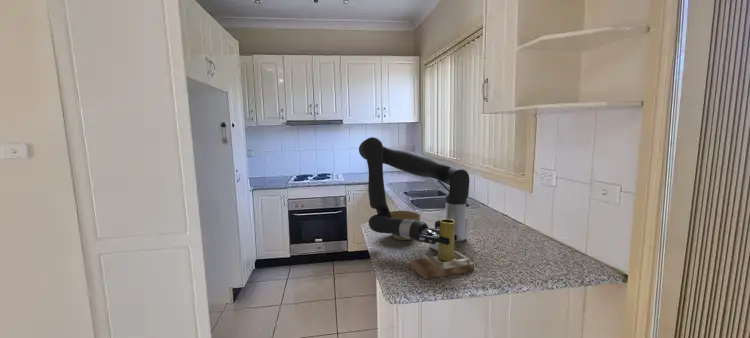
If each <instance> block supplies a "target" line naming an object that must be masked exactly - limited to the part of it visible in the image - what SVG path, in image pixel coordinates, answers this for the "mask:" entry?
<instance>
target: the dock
mask: <svg viewBox="0 0 750 338" xmlns="http://www.w3.org/2000/svg"><path fill="white" fill-rule="evenodd" d="M437 256H438V255H437ZM437 256H434V255H431V254H430V253H428V252H424V257H422V258H417V259H411V260H410V267H411V268H412V269H413V270H414V271H415V272H416V273H418V274H419V275H420V276H421V277H423V278H424V279H425V280H428V279H434V278H435V279H436V278H440V277H445V276H450V275H456V274H461V273H467V272H471V271H472V272H473V271H475V270H474V269H475V263H473V262H472V261H471V259H470V258H468V257H467V256H465V255H464V254H462V253H460V252H459V251H457V250H455V249H454V260H452V261H442V260H440V259H438V257H437Z"/></svg>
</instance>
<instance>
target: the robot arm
mask: <svg viewBox="0 0 750 338" xmlns="http://www.w3.org/2000/svg"><path fill="white" fill-rule="evenodd" d="M358 153H359V155H360V156H361V157H362V158H363V159H364V160H366V163H367V167H368V168H367V171H368V180H367V181H368V183H367V187H368V188H367V189H368V190H367V191H368V200H369V205H370V208H371V209H374V210H375V211H376V213H377V214H374V215H372V216H370V218H369V219H368V226H369V229H371V230H372V231H373V232H375V233H380V234H391V235H392V234H395V235H399V236H402V237H405V238H407V239H409V240H412V241H415V242H419V243H425V244H429V245H430V244H435V243H442V244H446V245H449V244H450V239H449V238H445V237H440V236H438V234H440V227H436V229H435V227H430V228H429V226H428V224H427V223H426V222H423V221H420V222H419V221H414V220H407V219H402V218H392V217H391V214H390V212H391V211H390V209H389V206H388V204H387V203H388V202H387V197H386V191H385V190H386V189H385V180H384V169H383V168H384V165H383V164H385V165H388V166H390V167H393V168H395V169H397V170H400V171H403V172H405V173H408V174H412V175H415V176H418V177H423V178H430V179H434V180H436V181H439V182H441V183H444V184H446V185H448V186H449V191H448V194H447V195H446V196H445V213H444V214H445V216H444V219H451V220H454V221H455V229H454V242H463V241H465V240H467V235H468V234H467V233H468V219H467V218H466V217H467V215H466V214H467V199H468V198H469V194H470V193H469V192H470V191H469V189H470V175H469V173H468V171H467V170H466V169H463V168H460V167H456V166H450V165H446V164H441V163H439V162H436V161H435V160H433V159H431V158H429V157H426V156H425V155H422V154H419V153H417V152H416V153H415V152H413V151H409V150H408V151H407V150H399V149H393V148H390V147H387V146H384V145H383V143H382V141H381V140H380V139H379V138H378V137H372V136H371V137H368V138H366V139H365V140H363V141H362V142H361V143H360V145H359V147H358Z"/></svg>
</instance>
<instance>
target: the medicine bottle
mask: <svg viewBox="0 0 750 338" xmlns="http://www.w3.org/2000/svg"><path fill="white" fill-rule="evenodd" d="M440 220H441V219H440ZM440 220H436V221H434V229H436V227H440ZM438 236H439V234H438ZM438 247H439V243H435V244H429V248H430V249H432V250H434V251H436V252H438Z"/></svg>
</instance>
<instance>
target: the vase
mask: <svg viewBox="0 0 750 338" xmlns="http://www.w3.org/2000/svg"><path fill="white" fill-rule="evenodd" d="M454 229H455V221H454V220H451V219H445V218H441V219H440V234H439V236H440V237H445V238H449V239H450V244H449V245H446V244H442V243H439V247H438V251H437V257H438V259H440V260H442V261H452V260H454V250H455V241H454Z"/></svg>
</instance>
